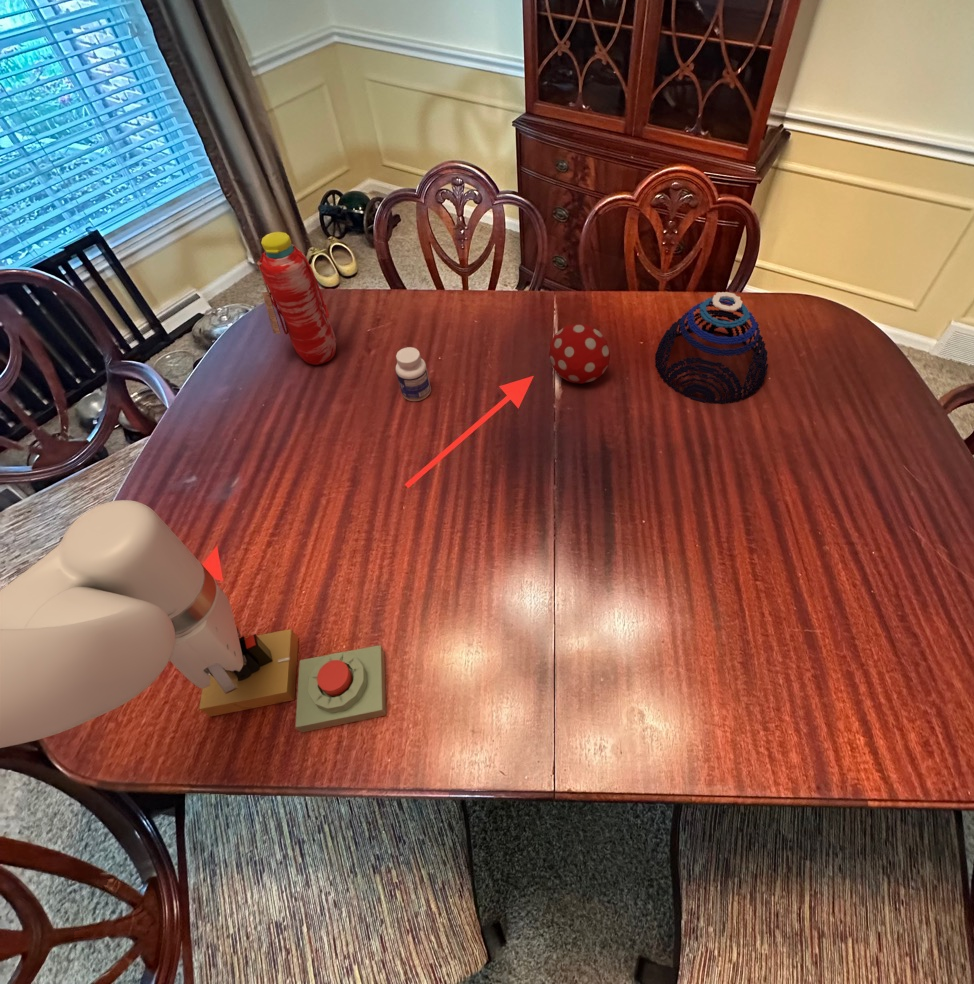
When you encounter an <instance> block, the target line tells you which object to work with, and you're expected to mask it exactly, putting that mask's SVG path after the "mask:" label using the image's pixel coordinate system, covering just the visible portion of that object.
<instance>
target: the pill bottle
mask: <svg viewBox="0 0 974 984" xmlns="http://www.w3.org/2000/svg"><path fill="white" fill-rule="evenodd" d="M395 358H396V365H395V373H396V377H397V380H398V384H399V388H400V392H401V395H402V397H403V398H404V399H405V400H407V401H410V402H421V401H423V400H424V399H426V398H427V397H428V396H429V395H430V394H431V392H432V387H431V383H430V378H429V373H428V368H427V364H426V363H427V362H426V361H425V360H424V359H423V358H422V357H421V353H420V351H419V349H417V348H416V347H412V346H407V347H403V348H400V350H398V351H397V353H396V354H395Z"/></svg>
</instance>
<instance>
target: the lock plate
mask: <svg viewBox="0 0 974 984" xmlns="http://www.w3.org/2000/svg"><path fill="white" fill-rule="evenodd" d="M256 635H257V637H258V638H259V639H260V640H261V641H262V642H263V643H264V644H265V645H266V646H267V647H268V648H269V650H270V651H271V655H272V660H273V661H272V662H270V663H268V664H266V665H264V666H261V667H260V670H259V671H257V672H255V673H253V674H251V676H250V677H249V678H247V679H245V680H242V681H238V689H235V690H233V691H231V692H229V693H227V694H226V693H225V692H224V691H223V689H222V688H221V687H220V685H219V684H218V682H217V681H216V680H215V678H214V677H213V676H211V675H210V674H209V675H210V686H208V687H206V688H203V689H201V695H200V700H199V705H198V710H199V711H201V712H202V713H204V714H205V715H206V716H207V717H211V718H212V717H216V716H220V715H221V716H222V715H226V714H231V713H237V712H241V711H245V710H246V711H247V710H251V709H256V708H261V707H265V706H271V705H272V706H273V705H276V704H281V703H286V702H291V701H295V700H296V699H295V697H296V683H297V682H296V681H297V670H298V669H297V668H298V654H299V640H300V638H299V637H298V636H297V634H296V633H295V632H294V631H293V629H291V628H290V629H285V630H278V631H273V632H267V633H261V634H256ZM244 637H245V636H244ZM247 637H248V636H246V637H245V638H247Z"/></svg>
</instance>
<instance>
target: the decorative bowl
mask: <svg viewBox="0 0 974 984" xmlns="http://www.w3.org/2000/svg"><path fill="white" fill-rule="evenodd" d="M712 307H713V308H714V309H708V308H712ZM716 308H717V309H716ZM697 310H698V311H699V312H696V311H697ZM694 312H696V313H694ZM734 312H735V313H739V314H740V315H738V314H735V313H734ZM725 318H726V319H725ZM748 321H749V322H751V323H749V322H748ZM697 322H698V323H697ZM704 322H705V323H704ZM701 324H702V326H700V325H701ZM759 325H760V324H759V322H758V321H756V318H755V316H754V315H753V313H752V312H750V311H749V309H748V307H747V306H746V304H744V303H743V300H742V299H741V296H738V295H737V294H736V293H734V292H728V291H725V292H724V291H722V292H720V291H719V292H718V291H717V292H716V293H715V294H713V296H711V297H707V298H705V300H704V301H702V302H700V303H696V304H695V305H694V306H692V308H689V310H687V311H686V312H685V313H684V314H682V315H681V317H680V318H678V319H677V321H674V322H673V323H671V325H670V326H669V329H666V330H665V333H664V334H663V336H662V337H661V339H660V341H659V344H658V345H657V349H656V353H655V354H654V356H655V357H654V360H655V362H654V367H655V368H656V371H657V373H658V374H659V375H660V376H659V378H660V379H662V382H663V383H665V384H666V385H667V386H668V387H669V388H670V389H672V390H673V391H674V392H676V393H680V395H683V396H684V397H686V398H689V400H693V401H697V402H701V403H704V404H706V403H708V404H720V405H723V404H733V403H735V402H737V403H738V402H740V401H744V400H745V399H746V398H747V399H748V398H750V397H751V396H754V394H756V392H758V390H760V389H761V388H762V386H763V384H764V381H765V378H766V375H767V373H768V368H769V363H767V362H768V349H767V348H766V343H765V341H764V340H763V339H764V337H763V336H762V335H761V334H760V333H761V329H760V327H759ZM708 326H709V327H708ZM707 327H708V329H707ZM738 327H739V328H738ZM719 328H721V329H722V328H723V329H724V330H725V331H726V332H723V331H719V330H718V329H719ZM733 329H734V330H733ZM690 333H693V335H696V336H697V337H698V338H701V339H702V340H705V341H706V342H709V343H714V344H717V345H726V346H728V345H729V346H731V345H737V344H739V345H740V344H743V345H744V346H740V347H734V348H722V349H721V348H717V347H714V346H708V345H705V344H704V343H702V342H701V341H698V340H697V339H695V338H694V337H693V336H692V335H690ZM714 333H715V334H720V336H718V335H714ZM734 334H736V335H734ZM721 335H722V336H721ZM723 335H724V336H723ZM679 336H681V337H682V338H683V339H684V340H685V341H686V342H687V343H688V344H689V345H691V347H694V349H698V351H702V352H703V353H705V354H710V355H713V356H718V357H720V356H722V357H724V356H725V357H726V356H727V357H733V356H739V355H742V354H746V353H747V352H750V350H751V351H752V352H753V354H752V357H751V359H752V361H750V363H749V367H748V370H747V373H746V376H745V380H744V382H743V384H742V383H741V380H740V379H739V378H738V376H737V375H736V373H735V372H734V370H731V368H730V367H729V366H725V364H722V362H719V361H717V362H715V361H711V360H708V359H703V358H702V357H699V356H696V357H695V356H690V357H689V356H687V357H686V358H683V359H680V360H678V361H677V362H676V361H675V362H673V363H671V364H670V366H668V362H669V359H670V356H671V354H670V353H672V350H673V348H672V347H673V346H674V343H675V340H676V338H677V337H679ZM752 339H753V340H752ZM747 341H748V343H747ZM716 367H717V368H716ZM720 371H721V372H720ZM689 372H690V373H689ZM698 372H701V373H698ZM709 375H712V376H709ZM692 376H698V377H699V378H695V377H692ZM687 377H692V378H687ZM682 378H683V380H682ZM685 378H686V379H685ZM680 380H681V381H680ZM707 380H712V381H713V382H711V381H707ZM673 381H674V382H673ZM720 381H721V382H720ZM672 382H673V384H672ZM678 382H679V384H677V383H678ZM696 382H698V383H696ZM688 383H689V384H688ZM691 383H692V384H691ZM700 383H703V384H700ZM714 383H715V384H714ZM676 384H677V386H676ZM704 384H706V385H704ZM716 384H718V385H719V386H720V388H721V389H720V388H719V386H717V385H716ZM683 385H684V386H683ZM724 385H725V386H726V387H725V386H724ZM709 386H710V387H709ZM681 387H683V388H682V390H680V388H681ZM712 388H713V389H712ZM714 390H715V391H714ZM722 391H723V393H724V395H722ZM715 392H716V393H717V394H718V398H719V399H718V400H717V396H716V393H715ZM695 394H701V395H702V397H703V398H701V397H696V396H694V395H695ZM728 394H730V395H728ZM747 399H746V400H747Z"/></svg>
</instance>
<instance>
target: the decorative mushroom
mask: <svg viewBox="0 0 974 984" xmlns="http://www.w3.org/2000/svg"><path fill="white" fill-rule="evenodd" d="M548 346H549V347H548V357H549V361H550V365H551V367H552V369H553V370H554V371H555V373H556V374H557V375H558V376H559V377H560V378H562V379H564V380H565V381H567V382H569V383H573V384H580V385H581V384H586V383H591V382H594V381H596V380H597V379H598V378H600V377H601V376H603V375H604V373H605V371H606V370H607V369H608V367H609V365H610V359H611V350H610V347H609V343H608V340H607V339H606V338H605V337H604V336H603V334H602V333H601V332H600V331H599V330H598V329H596V328H594V327H593V326H590V325H589V324H581V323H574V324H570V325H566V326H563V327H562V328H561V329H560V330H558V331H557V332H555V333H554V335H553V337H552V339H551V340H550V343H549V345H548Z"/></svg>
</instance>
